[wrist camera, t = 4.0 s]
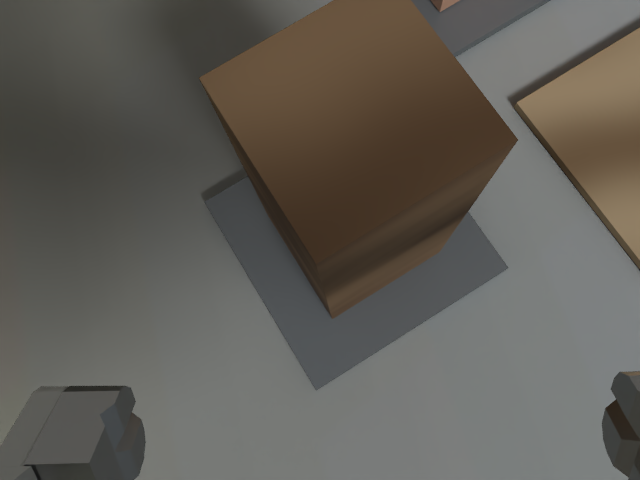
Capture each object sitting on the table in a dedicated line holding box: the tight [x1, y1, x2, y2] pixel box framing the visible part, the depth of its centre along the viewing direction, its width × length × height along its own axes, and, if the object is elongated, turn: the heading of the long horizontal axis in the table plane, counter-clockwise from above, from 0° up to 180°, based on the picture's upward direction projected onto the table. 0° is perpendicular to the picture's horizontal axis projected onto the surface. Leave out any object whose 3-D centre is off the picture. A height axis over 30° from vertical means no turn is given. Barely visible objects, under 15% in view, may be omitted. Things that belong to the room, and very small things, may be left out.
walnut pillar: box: [199, 0, 518, 319], centre depth 16 cm, size 4×4×10 cm
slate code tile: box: [205, 176, 508, 390], centre depth 21 cm, size 8×8×1 cm
